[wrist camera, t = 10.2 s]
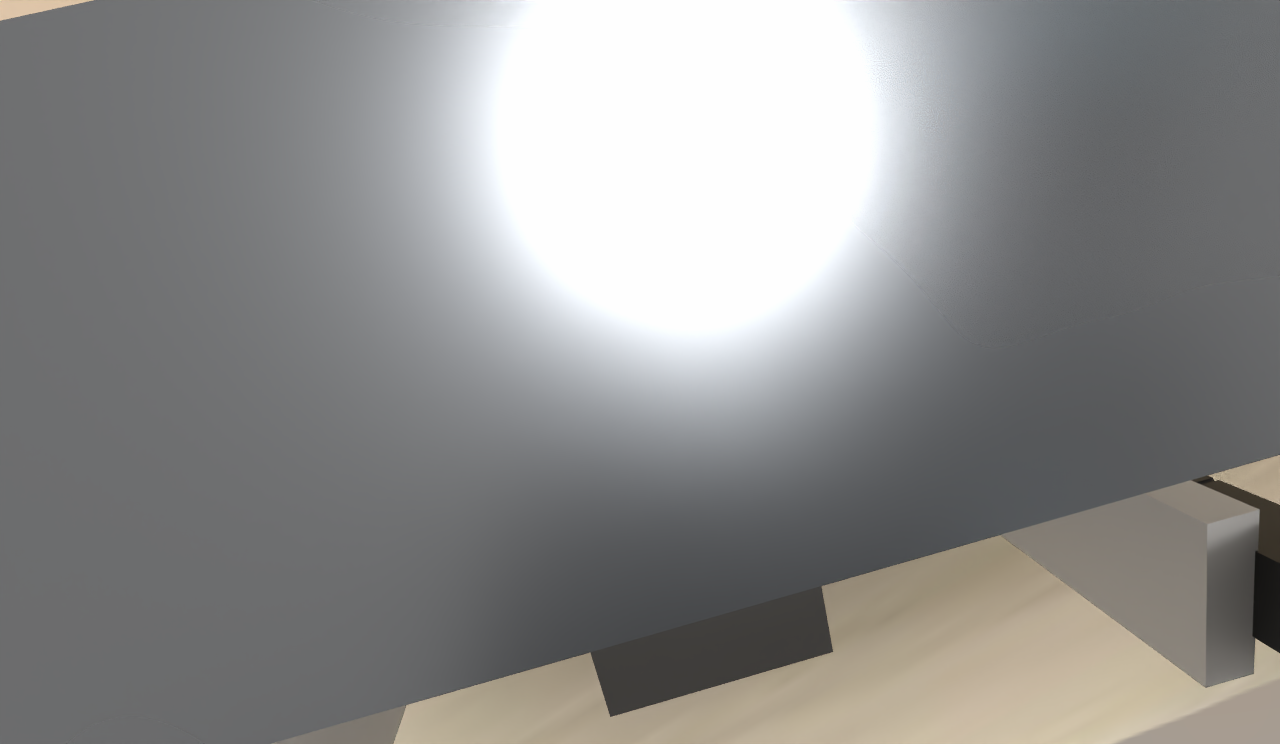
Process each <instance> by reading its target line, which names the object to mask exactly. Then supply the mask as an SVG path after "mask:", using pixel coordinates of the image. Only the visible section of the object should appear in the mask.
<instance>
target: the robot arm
mask: <svg viewBox="0 0 1280 744" xmlns="http://www.w3.org/2000/svg"><path fill="white" fill-rule="evenodd" d="M1001 536H1002V537H1004V538H1005V539H1006V540H1008V541H1009V542H1010V543H1012V544H1013V545H1014V546H1016V547H1017V548H1018V549H1020V550H1021V551H1022V552H1024V553H1025V554H1027V555H1028V556H1029V557H1031V558H1032V559H1033V560H1035V561H1036V562H1037V563H1039V564H1040V565H1041V566H1043V567H1044V568H1045V569H1047V570H1048V571H1049V572H1051V573H1052V574H1053V575H1055V576H1056V577H1057V578H1059V579H1060V580H1061V581H1063V582H1064V583H1066V584H1067V585H1068V586H1070V587H1071V588H1072V589H1074V590H1075V591H1076V592H1078V593H1079V594H1080V595H1082V596H1083V597H1084V598H1086V599H1087V600H1088V601H1090V602H1091V603H1092V604H1094V605H1095V606H1096V607H1098V608H1099V609H1100V610H1102V611H1103V612H1105V613H1106V614H1107V615H1109V616H1110V617H1111V618H1113V619H1114V620H1115V621H1117V622H1118V623H1119V624H1121V625H1122V626H1123V627H1125V628H1126V629H1127V630H1129V631H1130V632H1131V633H1133V634H1134V635H1135V636H1137V637H1138V638H1139V639H1141V640H1142V641H1144V642H1145V643H1146V644H1148V645H1149V646H1150V647H1152V648H1153V649H1154V650H1156V651H1157V652H1158V653H1160V654H1161V655H1162V656H1164V657H1165V658H1166V659H1168V660H1169V661H1170V662H1172V663H1173V664H1174V665H1176V666H1177V667H1178V668H1180V669H1181V670H1182V671H1184V672H1185V673H1187V674H1188V675H1189V676H1191V677H1192V678H1193V679H1195V680H1196V681H1197V682H1199V683H1200V684H1201V685H1203V686H1204V687H1205V688H1206V687H1210V686H1213V685H1216V684H1220V683H1223V682H1227V681H1230V680H1234V679H1237V678H1240V677H1244V676H1247V675H1251V674H1254V653H1255V638H1256V639H1258V640H1259V641H1261V642H1263V643H1264V644H1266V645H1267V646H1269V647H1271V648H1272V649H1274V650H1276V651H1277V652H1279V653H1280V505H1279V504H1276V503H1274V502H1271V501H1269V500H1266V499H1264V498H1261V497H1259V496H1256V495H1254V494H1252V493H1249V492H1247V491H1244V490H1242V489H1239V488H1237V487H1234V486H1232V485H1229V484H1227V483H1225V482H1222V481H1220V480H1218V481H1214V480H1213V478H1212V477H1210V476H1204V477H1200V478H1197V479H1193V480H1190V481H1186V482H1183V483H1179V484H1176V485H1172V486H1169V487H1165V488H1162V489H1158V490H1155V491H1151V492H1148V493H1144V494H1141V495H1137V496H1134V497H1130V498H1127V499H1123V500H1120V501H1116V502H1113V503H1109V504H1106V505H1102V506H1099V507H1096V508H1092V509H1089V510H1085V511H1082V512H1078V513H1075V514H1071V515H1068V516H1064V517H1061V518H1057V519H1054V520H1050V521H1047V522H1043V523H1040V524H1036V525H1033V526H1029V527H1026V528H1022V529H1019V530H1015V531H1012V532H1008V533H1005V534H1001ZM405 708H406V705H404V706H401V707H397V708H394V709H390V710H387V711H383V712H380V713H377V714H373V715H370V716H366V717H363V718H359V719H356V720H352V721H349V722H345V723H342V724H338V725H335V726H331V727H328V728H324V729H321V730H317V731H314V732H310V733H307V734H303V735H300V736H296V737H293V738H289V739H286V740H282V741H279V742H275V743H272V744H393V743H394V740H395V737H396V734H397V731H398V728H399V725H400V723H401V720H402V717H403V714H404V711H405Z"/></svg>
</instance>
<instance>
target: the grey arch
mask: <svg viewBox="0 0 1280 744" xmlns="http://www.w3.org/2000/svg"><path fill="white" fill-rule="evenodd" d="M1277 455H1280V0H94V1H89V2H85V3H80V4H75V5H71V6H66V7H62V8H57V9H52V10H48V11H43V12H39V13H34V14H29V15H25V16H20V17H16V18H11V19H7V20H2V21H0V744H272V743H275V742H279V741H282V740H286V739H289V738H293V737H296V736H300V735H303V734H307V733H310V732H314V731H317V730H321V729H324V728H328V727H331V726H335V725H338V724H342V723H345V722H349V721H352V720H356V719H359V718H363V717H366V716H370V715H373V714H377V713H380V712H383V711H387V710H390V709H394V708H397V707H401V706H404V705H408V704H411V703H415V702H418V701H422V700H425V699H429V698H432V697H436V696H439V695H443V694H446V693H450V692H453V691H457V690H460V689H464V688H467V687H471V686H474V685H478V684H481V683H485V682H488V681H492V680H495V679H499V678H502V677H506V676H509V675H513V674H516V673H520V672H523V671H527V670H530V669H534V668H537V667H541V666H544V665H548V664H551V663H555V662H558V661H561V660H565V659H568V658H572V657H575V656H579V655H582V654H586V653H589V652H593V651H596V650H600V649H603V648H607V647H610V646H614V645H617V644H621V643H624V642H628V641H631V640H635V639H638V638H642V637H645V636H649V635H652V634H656V633H659V632H663V631H666V630H670V629H673V628H677V627H680V626H684V625H687V624H691V623H694V622H698V621H701V620H705V619H708V618H712V617H715V616H719V615H722V614H726V613H729V612H733V611H736V610H740V609H743V608H746V607H750V606H753V605H757V604H760V603H764V602H767V601H771V600H774V599H778V598H781V597H785V596H788V595H792V594H795V593H799V592H802V591H806V590H809V589H813V588H816V587H820V586H823V585H827V584H830V583H834V582H837V581H841V580H844V579H848V578H851V577H855V576H858V575H862V574H865V573H869V572H872V571H876V570H879V569H883V568H886V567H890V566H893V565H897V564H900V563H904V562H907V561H911V560H914V559H918V558H921V557H924V556H928V555H931V554H935V553H938V552H942V551H945V550H949V549H952V548H956V547H959V546H963V545H966V544H970V543H973V542H977V541H980V540H984V539H987V538H991V537H994V536H998V535H1001V534H1005V533H1008V532H1012V531H1015V530H1019V529H1022V528H1026V527H1029V526H1033V525H1036V524H1040V523H1043V522H1047V521H1050V520H1054V519H1057V518H1061V517H1064V516H1068V515H1071V514H1075V513H1078V512H1082V511H1085V510H1089V509H1092V508H1096V507H1099V506H1102V505H1106V504H1109V503H1113V502H1116V501H1120V500H1123V499H1127V498H1130V497H1134V496H1137V495H1141V494H1144V493H1148V492H1151V491H1155V490H1158V489H1162V488H1165V487H1169V486H1172V485H1176V484H1179V483H1183V482H1186V481H1190V480H1193V479H1197V478H1200V477H1204V476H1207V475H1211V474H1214V473H1218V472H1221V471H1225V470H1228V469H1232V468H1235V467H1239V466H1242V465H1246V464H1249V463H1253V462H1256V461H1260V460H1263V459H1267V458H1270V457H1274V456H1277Z"/></svg>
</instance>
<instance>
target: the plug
mask: <svg viewBox="0 0 1280 744" xmlns="http://www.w3.org/2000/svg"><path fill="white" fill-rule="evenodd" d="M831 652H833V649H832V644H831V638H830V633H829V627H828V621H827V616H826V610H825V605H824V599H823V594H822V588H821V586H820V587H816V588H813V589H809V590H806V591H802V592H799V593H795V594H792V595H788V596H785V597H781V598H778V599H774V600H771V601H767V602H764V603H760V604H757V605H753V606H750V607H746V608H743V609H740V610H736V611H733V612H729V613H726V614H722V615H719V616H715V617H712V618H708V619H705V620H701V621H698V622H694V623H691V624H687V625H684V626H680V627H677V628H673V629H670V630H666V631H663V632H659V633H656V634H652V635H649V636H645V637H642V638H638V639H635V640H631V641H628V642H624V643H621V644H617V645H614V646H610V647H607V648H603V649H600V650H596V651H593V652H591V656H592V659H593V662H594V665H595V669H596V672H597V675H598V678H599V681H600V685H601V688H602V691H603V694H604V698H605V701H606V704H607V707H608V710H609V714H610V717H612V716H615V715H619V714H622V713H626V712H629V711H632V710H636V709H639V708H643V707H646V706H649V705H653V704H656V703H660V702H663V701H667V700H670V699H673V698H677V697H680V696H684V695H687V694H690V693H694V692H697V691H701V690H704V689H708V688H711V687H714V686H718V685H721V684H725V683H728V682H731V681H735V680H738V679H742V678H745V677H749V676H752V675H755V674H759V673H762V672H766V671H769V670H773V669H776V668H779V667H783V666H786V665H790V664H793V663H796V662H800V661H803V660H807V659H810V658H814V657H817V656H820V655H824V654H827V653H831Z"/></svg>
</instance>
